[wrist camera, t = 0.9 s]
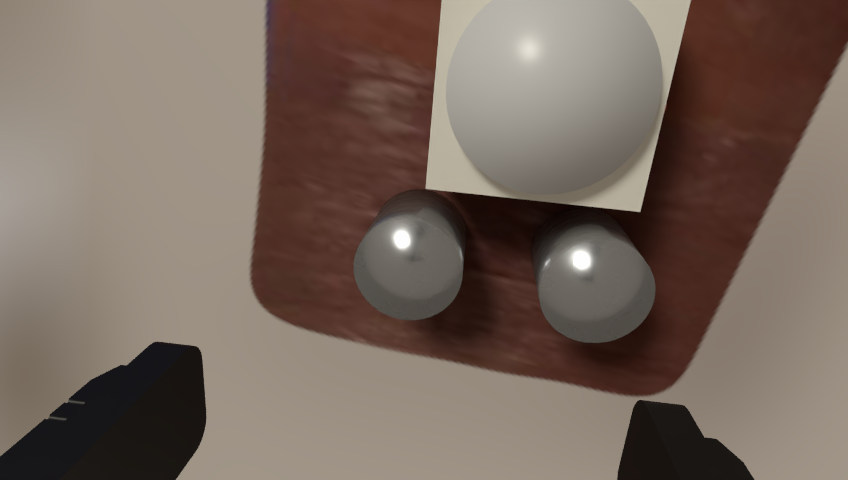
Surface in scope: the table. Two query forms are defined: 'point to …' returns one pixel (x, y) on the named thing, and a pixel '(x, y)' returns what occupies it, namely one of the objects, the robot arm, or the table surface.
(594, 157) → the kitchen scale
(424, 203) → the cylinder
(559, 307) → the cylinder
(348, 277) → the table surface
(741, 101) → the table surface
